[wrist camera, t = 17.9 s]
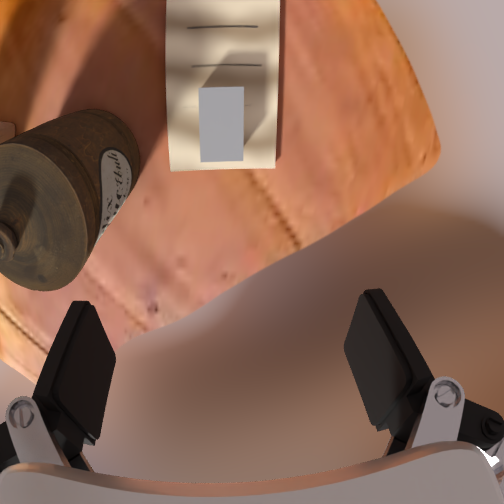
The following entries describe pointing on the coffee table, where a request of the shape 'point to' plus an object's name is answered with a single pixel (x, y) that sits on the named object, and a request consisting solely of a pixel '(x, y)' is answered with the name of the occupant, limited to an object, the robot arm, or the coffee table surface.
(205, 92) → the block
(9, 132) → the wooden block
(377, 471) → the robot arm
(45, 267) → the wooden container
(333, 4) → the coffee table surface
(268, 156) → the board
